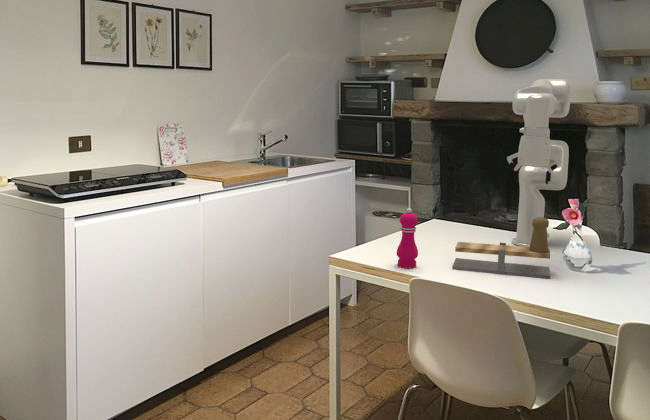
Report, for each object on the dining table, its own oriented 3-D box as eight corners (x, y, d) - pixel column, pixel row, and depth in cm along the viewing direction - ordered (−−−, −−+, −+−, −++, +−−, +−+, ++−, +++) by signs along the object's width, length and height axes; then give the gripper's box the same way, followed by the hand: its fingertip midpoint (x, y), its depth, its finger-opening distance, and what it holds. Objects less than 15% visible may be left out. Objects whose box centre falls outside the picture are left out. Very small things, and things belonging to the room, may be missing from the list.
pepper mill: (402, 261, 215) (404, 205, 211) (421, 265, 211) (423, 207, 207) (392, 266, 209) (394, 208, 205) (411, 270, 205) (414, 211, 201)
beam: (455, 253, 207) (455, 247, 207) (457, 247, 215) (457, 241, 214) (549, 260, 198) (550, 254, 198) (548, 254, 206) (549, 248, 206)
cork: (549, 253, 199) (552, 220, 197) (530, 252, 200) (532, 219, 198) (546, 248, 205) (549, 216, 203) (527, 247, 206) (529, 215, 204)
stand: (452, 269, 207) (453, 245, 205) (455, 260, 217) (456, 238, 216) (550, 278, 198) (552, 254, 196) (548, 269, 208) (550, 246, 207)
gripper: (508, 132, 205) (505, 183, 209) (564, 134, 200) (559, 186, 204) (508, 130, 212) (505, 179, 216) (562, 132, 207) (557, 182, 211)
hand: (531, 182), depth 210 cm, fingers open, 9 cm apart
